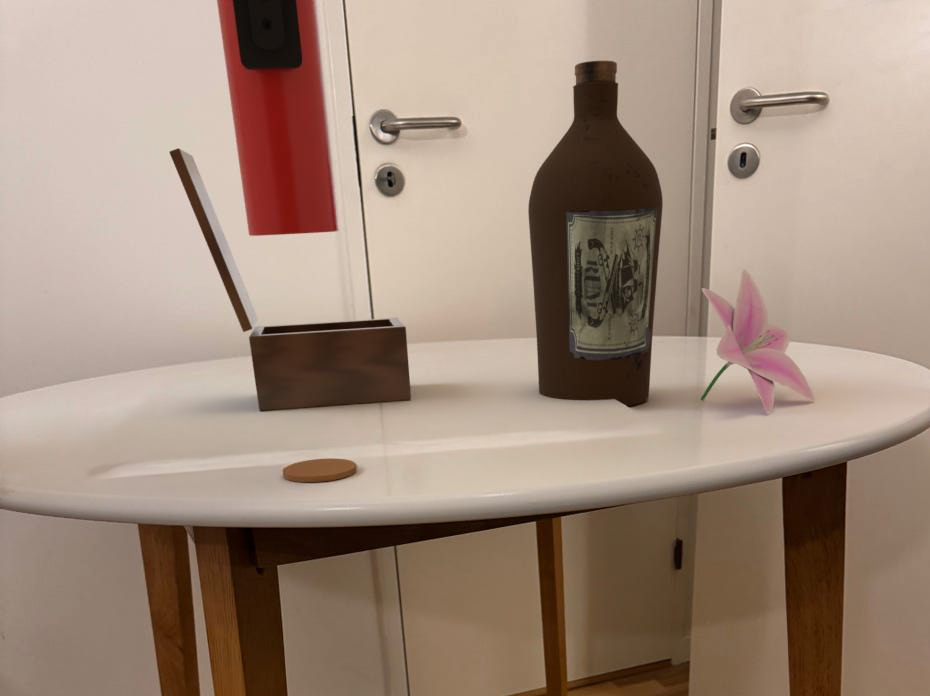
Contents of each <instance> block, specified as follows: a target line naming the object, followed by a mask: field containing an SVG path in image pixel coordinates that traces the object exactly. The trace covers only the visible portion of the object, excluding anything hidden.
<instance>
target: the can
mask: <svg viewBox="0 0 930 696" xmlns="http://www.w3.org/2000/svg"><path fill="white" fill-rule="evenodd" d="M216 3H217V10H218V11H217V12H218V20H219V25H220V26H219V27H220V33H221V34H220V35H221V40H222V47H223V48H222V49H223V55H224V62H225V69H226V76H227V77H226V78H227V86H228V92H229V96H230V97H229V100H230V107H231V113H232V121H233V129H234V137H235V143H236V150H237V157H238V164H239V171H240V172H239V173H240V179H241V186H242V194H243V201H244V202H243V203H244V209H245V215H246V222H247V223H246V224H247V231H248V236H249V237H257V236H258V237H259V236H260V237H261V236H280V235H299V234H300V235H301V234H316V233H317V234H318V233H334V232H336V233H337V232H339V231H340V225H339V216H338V215H339V214H338V205H337V196H336V185H335V175H334V166H333V165H334V164H333V155H332V145H331V136H330V135H331V134H330V125H329V115H328V106H327V95H326V86H325V85H326V83H325V75H324V65H323V55H322V46H321V36H320V26H319V15H318V5H317V4H318V3H317V0H296V4H297V13H298V23H299V32H300V41H301V50H302V65H301V66H300V67H299V68H289V69H256V70H249V69H246V68H245V67H244V66H243V65H242V63H241V59H240V52H239V44H238V37H237V29H236V21H235V14H234V6H233V0H216Z"/></svg>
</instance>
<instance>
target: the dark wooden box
mask: <svg viewBox="0 0 930 696" xmlns="http://www.w3.org/2000/svg"><path fill="white" fill-rule="evenodd" d="M248 340H249V348H250V354H251V355H250V356H251V361H252V367H253V376H254V377H253V378H254V383H255V389H256V390H255V391H256V397H257V404H258V411H259V412H260V413H262V412H263V413H264V412H277V411H288V410H304V409H315V408H332V407H344V406H358V405H371V404H372V405H373V404H383V403H384V404H385V403H397V402H410V401H412V392H411V381H410V379H411V378H410V366H409V352H408V340H407V327H406V325H405V324H403V322H402V321H401V319H399V318H398V317H388V318H387V317H385V318H370V319H355V320H353V319H352V320H339V321H322V322H306V323H305V322H304V323H291V324H276V325H275V324H274V325H260V326H259V325H258V326H254V327H253V329H252V331H251V333H250V334H249V336H248Z"/></svg>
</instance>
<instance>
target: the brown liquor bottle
mask: <svg viewBox="0 0 930 696" xmlns="http://www.w3.org/2000/svg"><path fill="white" fill-rule="evenodd" d="M617 71H618V63H617V62H616V61H614V60H590V61H583V62H579V63H577V64H575V65H574V76H575V85H573V86H572V88H573V119H572V123H571V124H570V126H569V128H568V129H567V131H566V132H565V134H564V135H563V136H562V137H561V139H560V140H559V142H558V143H557V144H556V146H554V148H553V150H551V152H549V155H548V156H547V157H546V158H545V159H544V161H543V162H542V164H541V166H540V167H539V168H538V170H537V172H536V174H535V176H534V179H533V182H532V186H531V190H530V193H529V200H528V209H527V210H528V227H529V240H530V241H529V242H530V255H531V269H532V270H531V271H532V285H533V299H534V315H535V330H536V331H535V332H536V333H535V334H536V350H537V351H536V352H537V353H536V354H537V372H538V373H537V375H538V376H537V377H538V392H539V393H538V394H539V395H541V396H543V397H545V398H549V399H550V398H551V399H556V400H565V401H606V400H615V401H617V402H618V403H620V404H622V405H625V407H631V406H636V405H639V404H642V403H645V402H646V401H647V400H648V399H649V397H650V386H651V384H650V382H651V366H652V348H653V331H654V318H655V307H656V305H655V304H656V293H657V280H658V277H657V276H658V267H659V266H658V265H659V255H660V254H659V253H660V244H661V243H660V242H661V241H660V240H661V230H662V219H663V204H664V203H663V201H664V200H663V192H662V187H661V183H660V179H659V175H658V171H657V169H656V167H655V165H654V164H653V162H652V161H651V159H650V158H649V157H648V155H647V154H646V152H644V150H643V149H642V148H641V147H640V146H639V144H638V143H637V141H635V139H633V137H632V136H631V135H630V134H629V132H628V131H627V130H626V128H624V126H623V125H622V124H621V121H620V120H619V118H618V104H619V103H618V101H619V99H618V98H619V83H618V82H616V79H617V76H616V75H617V73H618V72H617Z"/></svg>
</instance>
